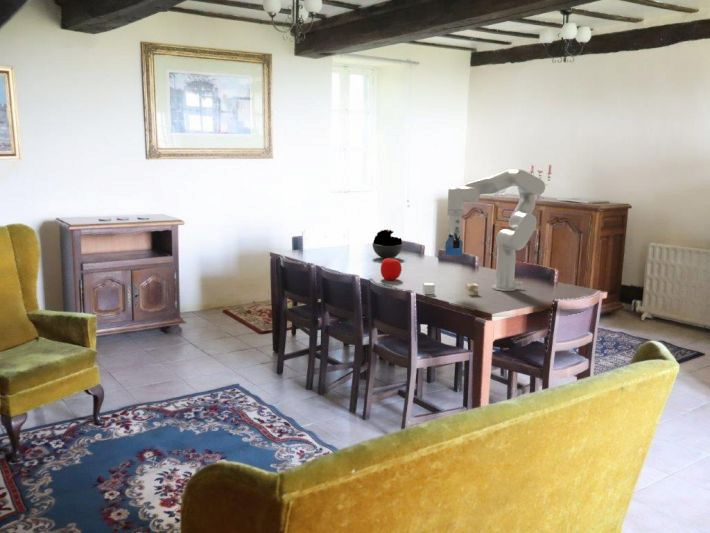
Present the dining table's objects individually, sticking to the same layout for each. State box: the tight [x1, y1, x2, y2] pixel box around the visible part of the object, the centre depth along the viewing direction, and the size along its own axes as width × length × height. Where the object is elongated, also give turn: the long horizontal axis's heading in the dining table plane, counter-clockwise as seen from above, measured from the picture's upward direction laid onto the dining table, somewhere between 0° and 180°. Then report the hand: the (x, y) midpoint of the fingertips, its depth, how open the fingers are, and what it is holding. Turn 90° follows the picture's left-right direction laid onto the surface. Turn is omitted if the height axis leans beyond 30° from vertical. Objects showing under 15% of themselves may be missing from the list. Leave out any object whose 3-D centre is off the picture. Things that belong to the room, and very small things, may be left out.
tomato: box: [380, 257, 402, 281], centre depth 353 cm, size 12×12×13 cm
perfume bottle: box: [444, 236, 464, 257], centre depth 321 cm, size 6×6×12 cm
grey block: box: [422, 282, 436, 295], centre depth 323 cm, size 5×5×5 cm
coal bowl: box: [371, 229, 404, 260], centre depth 417 cm, size 20×20×19 cm
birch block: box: [465, 283, 479, 296], centre depth 324 cm, size 5×5×5 cm
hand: (453, 246), depth 322 cm, fingers closed on perfume bottle, 9 cm apart
